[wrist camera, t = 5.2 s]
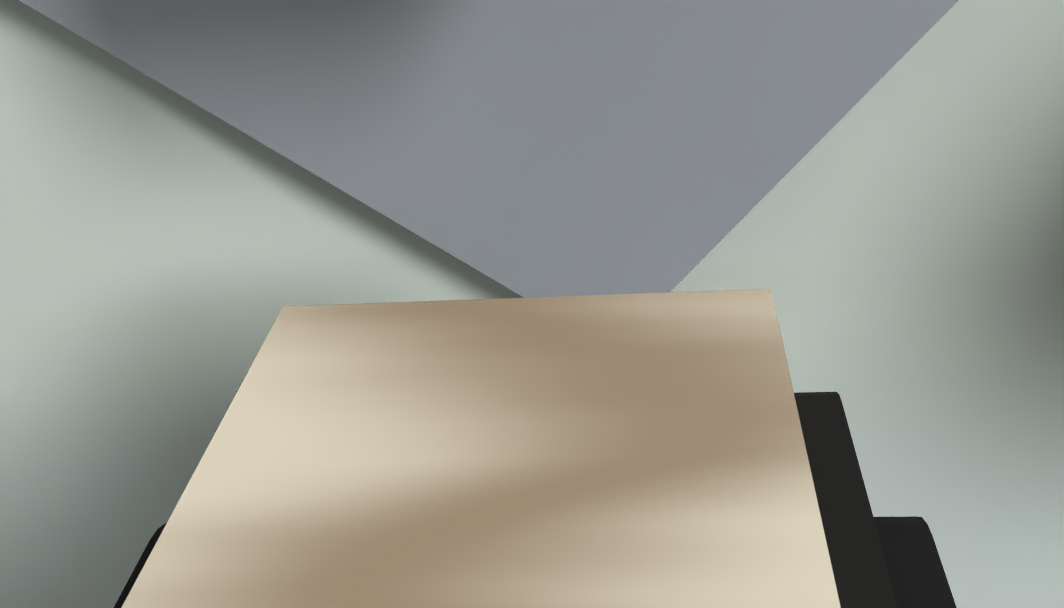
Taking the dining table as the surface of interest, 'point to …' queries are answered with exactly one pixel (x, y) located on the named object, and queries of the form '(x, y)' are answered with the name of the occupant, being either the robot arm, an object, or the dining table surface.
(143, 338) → the dining table surface
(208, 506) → the birch block
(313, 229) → the dining table surface
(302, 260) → the dining table surface
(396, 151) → the baseplate
